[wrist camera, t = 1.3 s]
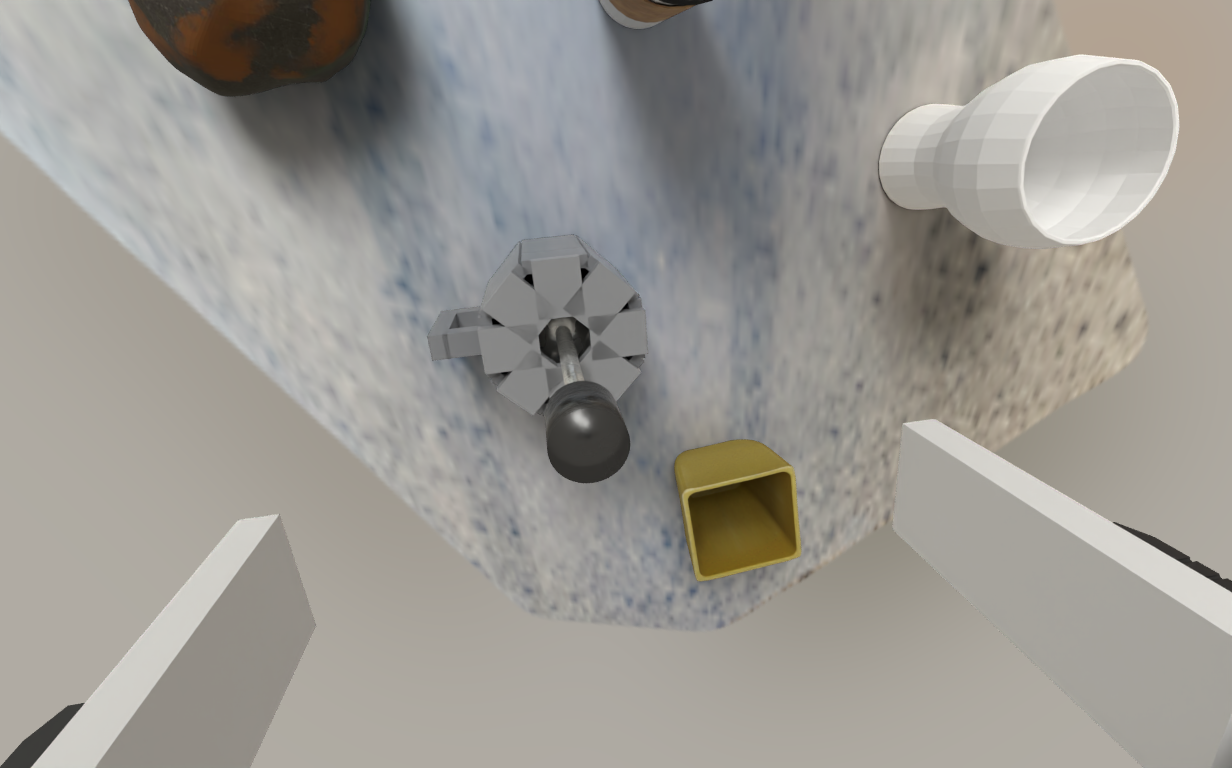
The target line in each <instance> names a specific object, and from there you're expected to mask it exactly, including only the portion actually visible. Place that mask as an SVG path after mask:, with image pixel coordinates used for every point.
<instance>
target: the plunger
mask: <svg viewBox="0 0 1232 768" xmlns="http://www.w3.org/2000/svg"><path fill="white" fill-rule="evenodd" d="M539 343H540V350H541V352H542V353H544V354H545V355H546V356H548V357H549V358H550V359H552V360H553V361H555V362H556V363H561V368H562V373H563V379H564V384H565V385H564V386H563V387H561V388H559V389H558V390H557V391H556V392H555V393H554V394H553V395H552V396H551V398H550V399H549V401H548V403H547V406H546V410H545V426H546V438H547V450H548V456H549V459H550V462H551V464H552V466H553V467H554V468H555V470H556V471H557V472H558V473H559V474H561V475H562V476H563V477H565V478H567V479H569V480H571V481H574V482H579V483H594V482H599V481H602V480H604V479H607V478H609V477H610V476H612V475H613V474H615V473H616V472H617V471H618V470H619V469H620V468H621V467H622V466H623V464H624V463H625V461H626V459H627V457H628V454H629V450H630V438H629V434H628V431H627V428H626V426H625V423H624V420H623V418H622V415H621V413H620V410H619V407H618V405H617V402H616V400H615V398H614V396H613V395H612V394H611V393H610V391H609V390H607V389H606V388H605V387H603V386H602V385H600V384H598V383H595V382H591V381H584V378H583V374H582V370H581V367H580V363H579V360H578V359H579V358H580V357H581V356H582V354H583V353H584V352H585V351H586V350H587V348H588V347H589V346H590V340H589V330H588V328H587V327H586V326H585V325H583V324H582V323H581V322H579V321H578V320H577V319H576V318H574V317H573V316H572V317H563V318H555V319H551V320H550V321H549V323H548V324H547V325H546V326H545V328H544V329H543V330H542V331H541V333H540V334H539Z"/></svg>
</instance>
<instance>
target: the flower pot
mask: <svg viewBox="0 0 1232 768" xmlns="http://www.w3.org/2000/svg"><path fill="white" fill-rule="evenodd" d="M674 470H675V477H676V482H677V487H678V492H679V498H680V503H681V509H682V515H683V522H684V528H685V536H686V540H687V545H688V549H689V553H690V557H691V561H692V565H693V570H694V574H695V577H696V580H697V581H708V580H712V579H717V578H722V577H725V576H729V575H733V574H737V573H741V572H746V571H749V570H753V569H757V568H761V567H765V566H769V565H773V564H777V563H782V562H786V561H789V560H792V559H795V558H797V557H800V555H801V539H800V529H799V519H798V506H797V491H796V476H795V471H794V468H793V467H792V466H791V465H790V464H789V463H787V462H786V461H785V460H784V459H782V458H781V457H780V456H779V455H777V454H776V453H775V452H774V451H772V450H771V449H770V448H768V447H767V446H766V445H764V444H762V443H760V442H757V441H753V440H730V441H727V442H723V443H718V444H714V445H710V446H705V447H701V448H697V449H692V450H687V451H685V452H683V453H681V454H679V455H678V457H677V458H676V460H675V464H674Z"/></svg>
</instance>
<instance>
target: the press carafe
mask: <svg viewBox="0 0 1232 768" xmlns="http://www.w3.org/2000/svg"><path fill="white" fill-rule="evenodd" d="M639 296H640V295H639V294H638V293H637V292H636V291H635V290H634V288H633V287H632V286H631V285H630V284H629V283H628V281H627V280H626V279H625V278H624V277H623V276H622V275H621V273H620V272H619V271H618V270H617V269H616V268H615V267H614V266H613V265H612V264H610V263H609V262H608V261H607V260H606V259H604V258H603V257H602V256H601V255H600V254H598V253H597V252H596V251H595V250H594V249H592V248H591V247H590V246H589V245H588V244H586V243H585V242H584V241H583V240H582V239H580V238H579V237H578V236H576V237H575V236H574V235H564V236H555V237H545V238H536V239H526V240H522V243H521V242H518V244H517V245H516V246H515V248H514V249H513V250H512V251H511V253H510V254H509V255H508V257H507V258H506V259H505V261H504V262H503V263H502V265H501V266H500V267H499V268H498V270H497V271H496V272H495V274H494V275H493V276H492V278H491V279H490V280H489V282H488V284H487V287H486V290H485V294H484V297H483V301H482V304H481V306H480V307H472V308H463V309H454V310H446V311H441V313H440V314H439V316H438V318H437V320H436V322H435V323H434V325H433V327H432V329H431V331H430V332H429V334H428V336H427V338H428V343H429V347H430V352H431V357H432V361H434V360H442V359H450V358H458V357H466V356H474V355H482V359H483V365H484V371H485V374H488V378H491V379H490V381H491V382H492V383H494V384H495V385H497V392H498V393H500V394H501V395H503V396H504V397H506V398H507V399H509V400H510V401H511V402H513V403H514V404H516V405H517V406H519V407H520V408H522V409H523V410H525V411H526V412H528V413H529V414H531V415H532V416H533V415H534V414H535V413H538V414H539V415H541V413H542V412H543V416H545V410H546V406H547V403H548V401H549V399H550V398H551V396H552V395H553V394H554V393H555V392H556V391H557V390H558V389H559V388H561V387H563V386H564V385H565V384H564V379H563V373H562V368H561V363H556V362H555V361H553V360H552V359H550V358H549V357H548V356H546V355H545V354H544V353H542V352H541V350H540V343H539V334H540V333H541V331H542V330H543V329H544V328H545V326H546V325H547V324H548V323H549V321H550V320H551V319H555V318H563V317H572V316H573V317H574V318H576V319H577V320H578V321H579V322H581V323H582V324H583V325H585V326H586V327H587V328H588V330H589V340H590V346H589V347H588V348H587V350H586V351H585V352H584V353H583V354H582V356H581V357H580V358H579V359H578V360H579V363H580V367H581V370H582V374H583V378H584V381H591V382H595V383H598V384H600V385H602V386H603V387H605V388H606V389H607V390H609V391H610V393H611V394H612V395H613V396H614V398H615V400H616V401H617V400H618V399H619V398H620V397H621V396H622V394H623V393H624V392H625V391H626V390H627V389H628V387H629V386H630V385H631V384H632V383H633V382H634V380H635V379H636V378H637V377H638V376H639V375H640V373H641V370H640V369H639V367H640V366H641V364H642V363H643V362H644V360H643V358H645V354H648V347H647V332H646V317H645V309H644V308H643V307H642V303H641V298H640V297H639Z"/></svg>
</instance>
